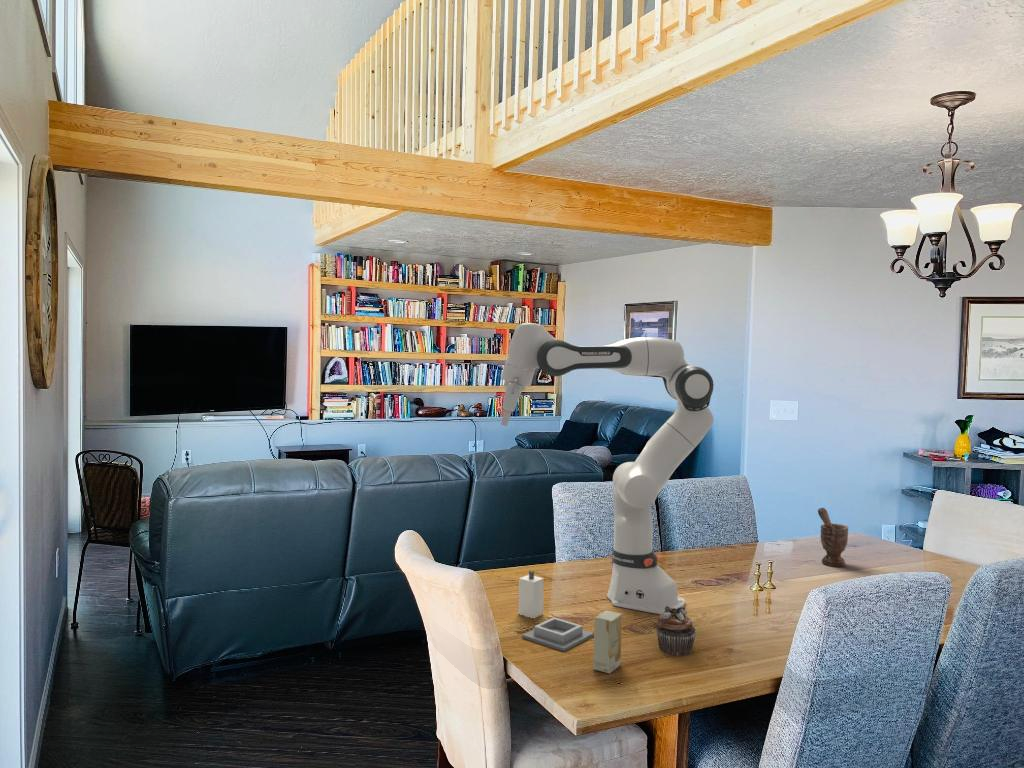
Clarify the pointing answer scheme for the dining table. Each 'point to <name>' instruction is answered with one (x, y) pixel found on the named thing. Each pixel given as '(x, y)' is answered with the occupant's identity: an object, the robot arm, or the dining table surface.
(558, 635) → the socket plate
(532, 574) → the plug
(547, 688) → the dining table surface
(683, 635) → the cupcake
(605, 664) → the skincare box
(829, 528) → the mortar and pestle
